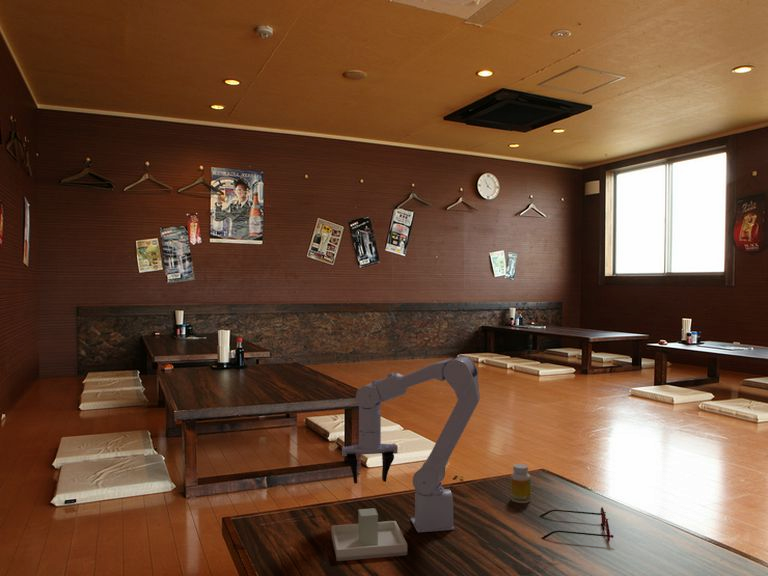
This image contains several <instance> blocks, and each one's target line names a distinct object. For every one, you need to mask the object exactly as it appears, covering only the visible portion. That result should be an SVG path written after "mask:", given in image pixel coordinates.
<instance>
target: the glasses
mask: <svg viewBox="0 0 768 576" xmlns="http://www.w3.org/2000/svg"><path fill="white" fill-rule="evenodd" d="M553 512H560V513H561V512H562V513H563V512H564V513H575V514H582V515H583V514H586V515H594V516H595V515H596V516H601V519H600V520H601V522H600V526H601V529H602V531H606V532H605V533H606V534H600V533H599V534H598V533H590V532H589V533H588V532H579V531H567V530H553V531H551V532H549V533H547V534H545V535H543V536H542V537H541V538H540V539H541V540H545V539H546V538H548V537H549V536H551V535H553V534H556V533H562V534H563V533H565V534H576V535H585V536H593V537H594V536H595V537H597V536H598V537H603V538H605V537H606V541H607V542H608V543H609V542H610V541H611V539H613V538H615V537H614V534H611V531H610V526H609V525H610V524H609V518H606V515H607V514H606V513H607V512H606V511H605V510H604V507H603V506H601V508H600V512H599V513H598V512H589V511H577V510H576V511H575V510H565V509H551V510H549V511H546V512H544V513H542V514H541V515H539V517H538V518H543V517H546V515H548V514H551V513H553Z"/></svg>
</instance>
